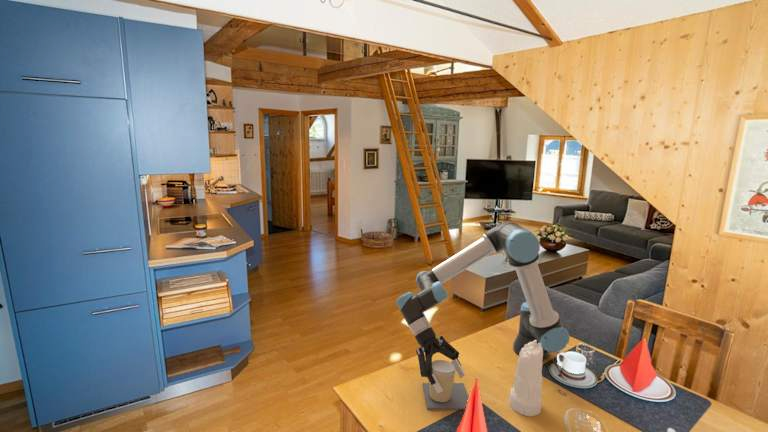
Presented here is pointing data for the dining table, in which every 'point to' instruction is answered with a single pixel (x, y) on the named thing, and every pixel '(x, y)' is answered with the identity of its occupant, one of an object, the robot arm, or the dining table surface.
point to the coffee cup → (442, 380)
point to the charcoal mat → (455, 402)
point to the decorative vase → (528, 381)
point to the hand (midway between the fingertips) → (452, 384)
